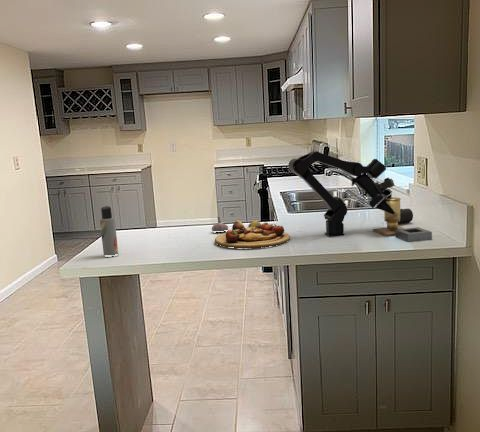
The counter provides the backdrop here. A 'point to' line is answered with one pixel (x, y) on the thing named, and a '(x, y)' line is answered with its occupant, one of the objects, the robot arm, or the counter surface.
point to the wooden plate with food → (253, 235)
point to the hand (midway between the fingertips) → (395, 212)
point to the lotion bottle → (108, 232)
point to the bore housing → (413, 234)
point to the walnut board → (386, 231)
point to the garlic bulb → (219, 226)
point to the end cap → (405, 216)
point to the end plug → (393, 218)
